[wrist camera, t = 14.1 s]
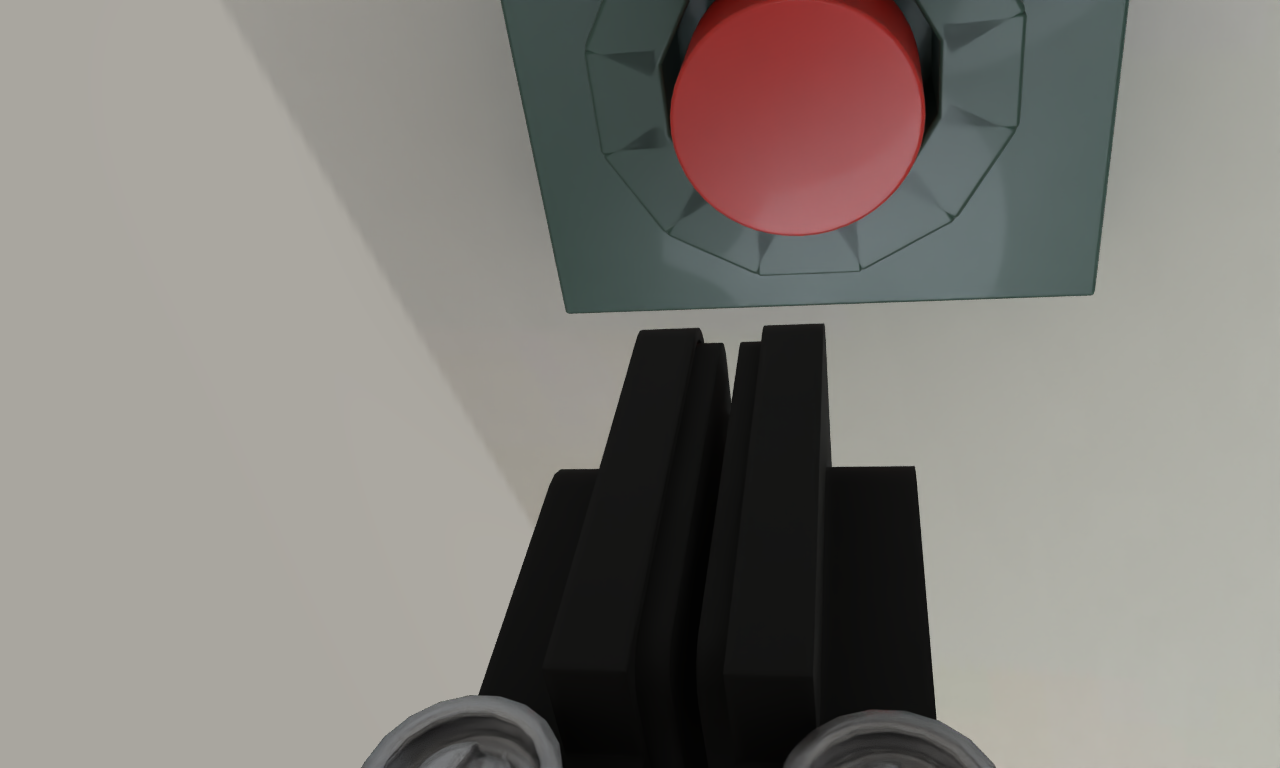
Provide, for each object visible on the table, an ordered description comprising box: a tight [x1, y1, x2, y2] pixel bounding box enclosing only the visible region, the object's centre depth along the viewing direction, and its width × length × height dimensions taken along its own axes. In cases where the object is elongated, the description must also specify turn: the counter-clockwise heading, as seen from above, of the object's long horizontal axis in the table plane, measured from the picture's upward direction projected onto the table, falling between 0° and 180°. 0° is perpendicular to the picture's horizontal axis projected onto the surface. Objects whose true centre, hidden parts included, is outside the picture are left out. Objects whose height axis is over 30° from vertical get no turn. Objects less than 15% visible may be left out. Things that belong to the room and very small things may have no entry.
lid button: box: [670, 0, 926, 236], centre depth 16 cm, size 4×4×2 cm
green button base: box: [501, 0, 1129, 314], centre depth 18 cm, size 10×10×4 cm
